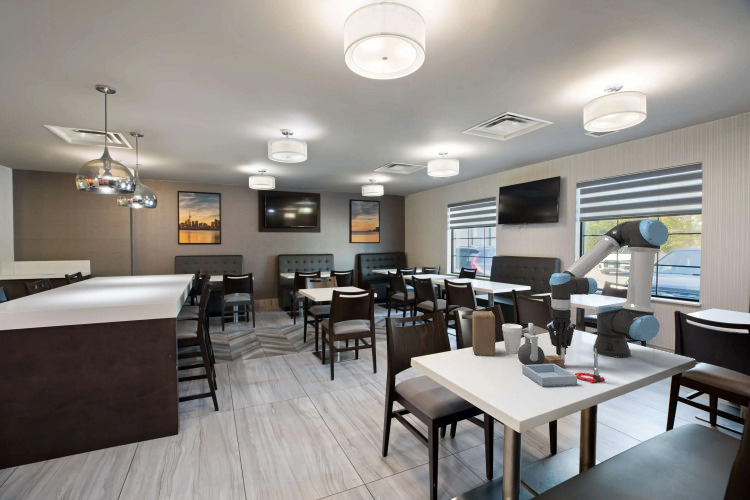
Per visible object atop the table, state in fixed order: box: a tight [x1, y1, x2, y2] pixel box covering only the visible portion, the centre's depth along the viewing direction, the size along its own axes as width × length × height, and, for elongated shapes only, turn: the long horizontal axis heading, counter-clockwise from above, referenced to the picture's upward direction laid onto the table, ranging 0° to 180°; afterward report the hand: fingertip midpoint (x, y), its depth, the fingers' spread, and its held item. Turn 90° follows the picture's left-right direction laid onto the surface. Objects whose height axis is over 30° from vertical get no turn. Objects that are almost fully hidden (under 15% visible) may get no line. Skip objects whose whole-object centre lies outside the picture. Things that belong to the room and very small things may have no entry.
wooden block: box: [471, 310, 496, 357], centre depth 170 cm, size 10×10×20 cm
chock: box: [543, 354, 565, 369], centre depth 151 cm, size 7×6×4 cm
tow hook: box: [574, 348, 606, 384], centre depth 137 cm, size 8×13×9 cm
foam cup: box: [501, 323, 523, 355], centre depth 172 cm, size 10×9×13 cm
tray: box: [521, 364, 578, 388], centre depth 136 cm, size 14×14×4 cm
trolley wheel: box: [517, 322, 546, 365], centre depth 150 cm, size 10×6×19 cm, turn 96°
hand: (561, 361), depth 151 cm, fingers closed
